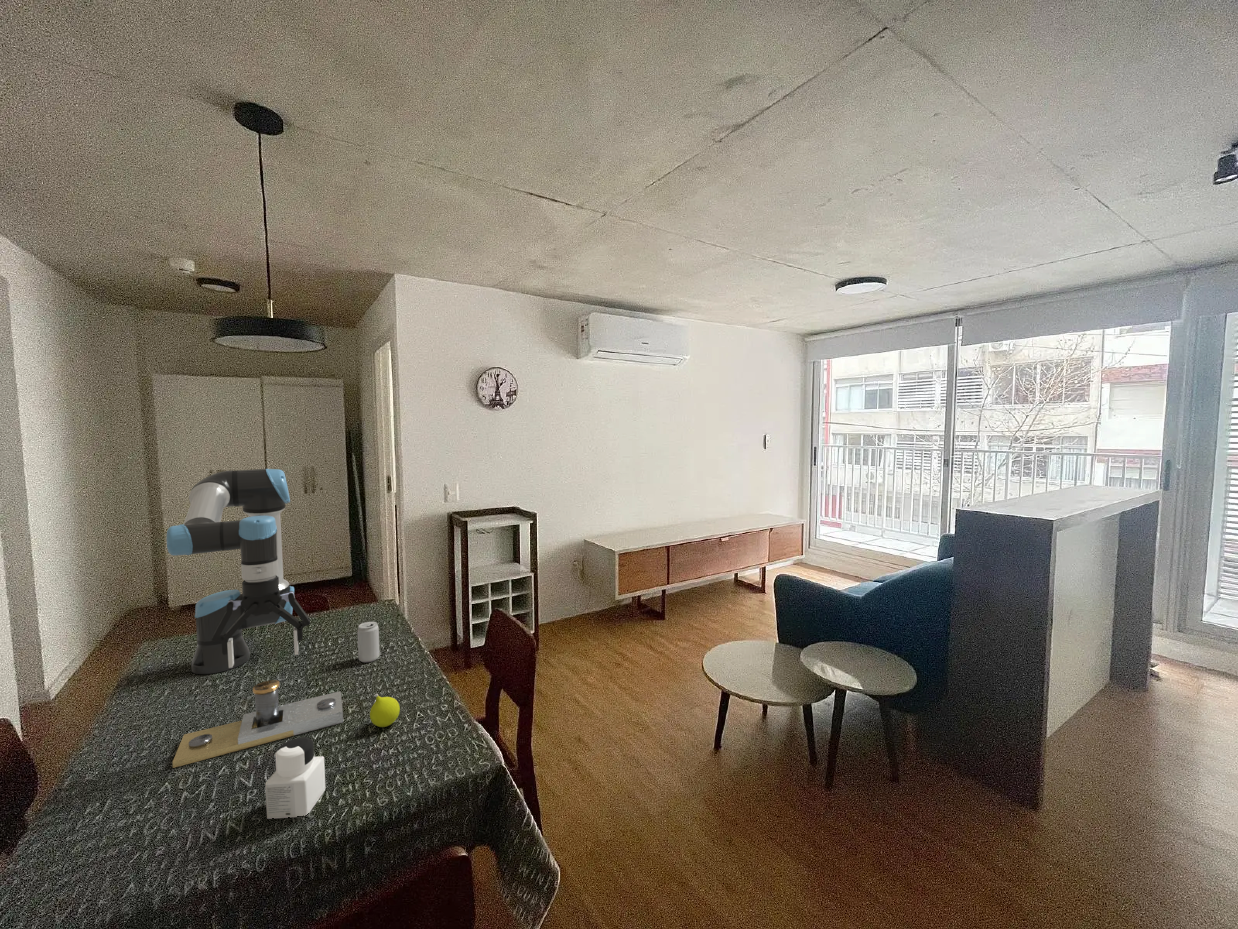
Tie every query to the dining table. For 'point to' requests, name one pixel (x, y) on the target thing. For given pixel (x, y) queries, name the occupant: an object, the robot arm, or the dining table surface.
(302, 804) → the container
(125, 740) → the dining table surface
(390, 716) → the lemon
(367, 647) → the beverage can
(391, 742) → the dining table surface
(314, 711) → the link
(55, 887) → the dining table surface
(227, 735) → the link
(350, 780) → the dining table surface
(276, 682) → the pin
